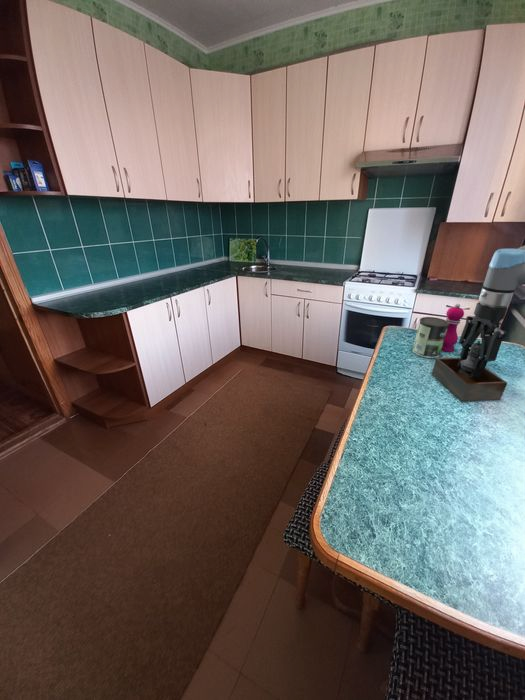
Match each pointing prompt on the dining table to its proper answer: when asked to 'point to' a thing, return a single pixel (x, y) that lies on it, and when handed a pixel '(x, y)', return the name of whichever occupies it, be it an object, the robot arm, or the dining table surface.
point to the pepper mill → (452, 327)
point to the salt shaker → (470, 360)
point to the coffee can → (430, 337)
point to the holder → (468, 382)
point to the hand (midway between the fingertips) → (468, 370)
